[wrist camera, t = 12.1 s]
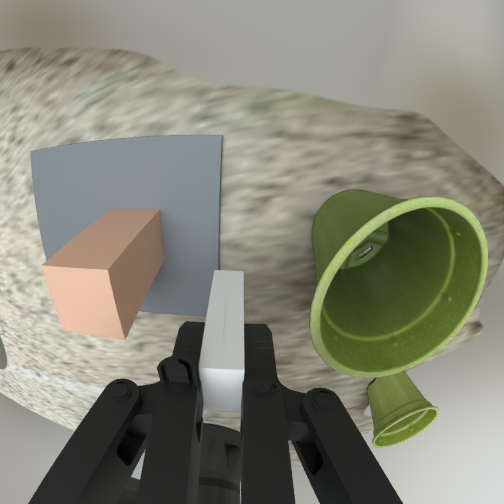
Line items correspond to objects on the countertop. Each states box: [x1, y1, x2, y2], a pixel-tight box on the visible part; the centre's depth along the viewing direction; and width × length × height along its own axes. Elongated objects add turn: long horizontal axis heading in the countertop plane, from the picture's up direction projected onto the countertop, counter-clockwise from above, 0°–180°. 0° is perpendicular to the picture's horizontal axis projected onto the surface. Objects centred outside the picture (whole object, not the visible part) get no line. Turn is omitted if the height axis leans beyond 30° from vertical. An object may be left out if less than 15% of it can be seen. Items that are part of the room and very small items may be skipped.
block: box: [42, 209, 164, 340], centre depth 17 cm, size 4×4×10 cm
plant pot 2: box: [367, 371, 439, 448], centre depth 29 cm, size 9×9×9 cm
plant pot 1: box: [309, 190, 488, 378], centre depth 18 cm, size 12×12×11 cm
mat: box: [31, 135, 222, 316], centre depth 22 cm, size 16×18×1 cm
